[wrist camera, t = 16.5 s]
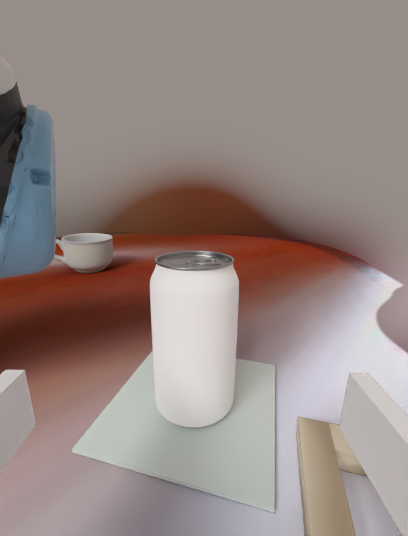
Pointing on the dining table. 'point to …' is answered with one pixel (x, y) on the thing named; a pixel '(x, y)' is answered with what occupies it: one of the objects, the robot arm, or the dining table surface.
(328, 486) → the holder
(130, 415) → the mat
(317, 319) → the dining table surface
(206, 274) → the can
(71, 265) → the teacup
